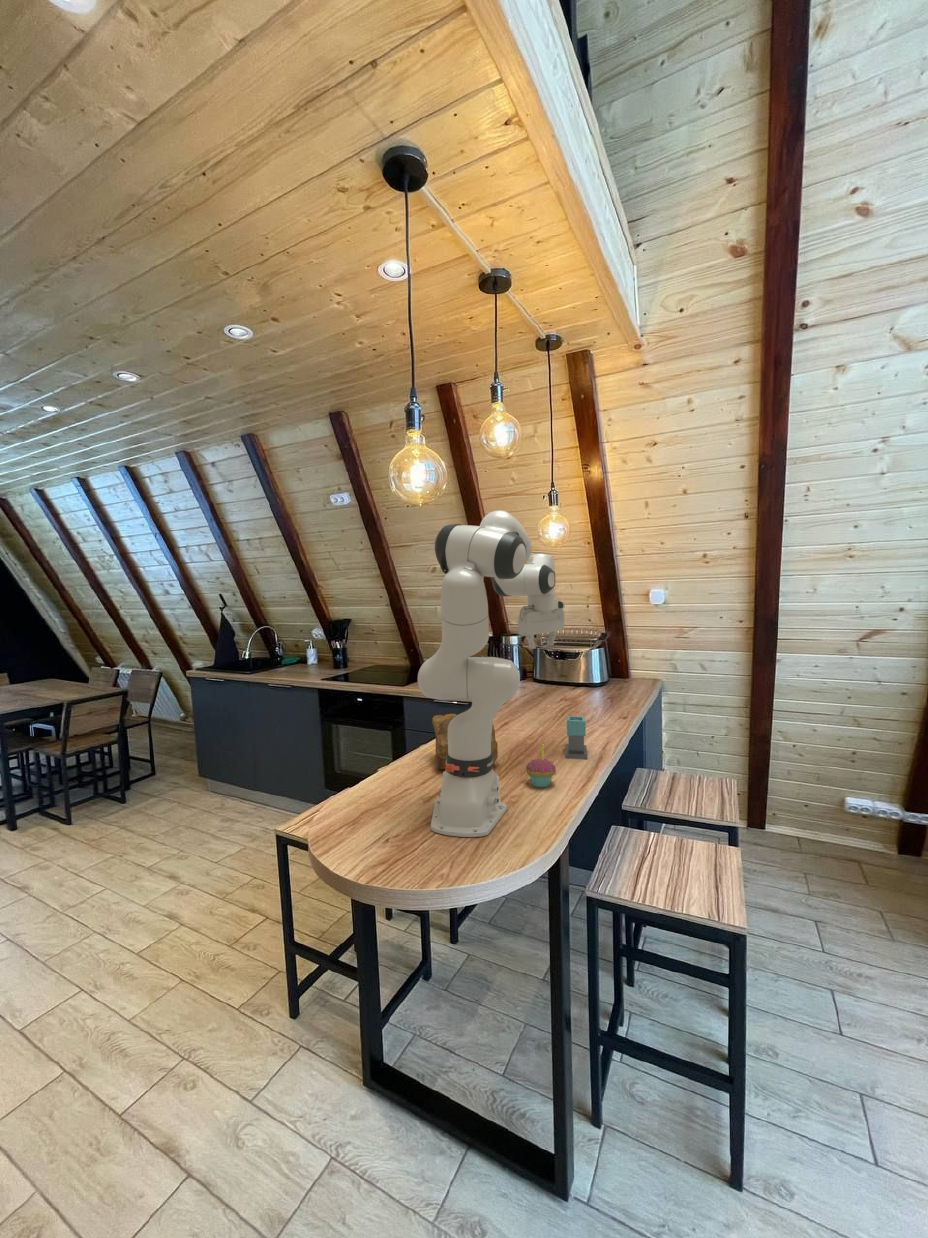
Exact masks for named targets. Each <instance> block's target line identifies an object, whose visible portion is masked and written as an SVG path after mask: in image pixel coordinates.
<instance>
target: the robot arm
mask: <svg viewBox="0 0 928 1238" xmlns="http://www.w3.org/2000/svg"><path fill="white" fill-rule="evenodd" d="M532 548H533V547H532V541H531V539H530V536H529V534H528V532H527V531H526V529H525V527H524V526H523V525H522V524H521V523H520V521H519V520H518V519H517V518H516V517H515V516H514V515H512V514H511V513H509V512H508V511H505V510H492V511H491V512H489V513H488V514H486V515H485V516H484V517H483V518H482V520H481V522H480V524H479V525H465V524H464V525H462V524H460V523H454V524H452V523H451V524H447V525H444V526H443V527H442V528H441V529H440V531H438V533H437V535H436V538H435V541H434V553H435V556H436V560H437V563H438V564H439V567H440V569H441V571H442V573H443V574H444V577H443V579H442V583H441V589H440V616H441V642H440V646H439V648H438V649H437V651H436V652H435V653H434V654H433V655H432V656H431V657H429V658H428V659H427V660H425V661H424V662H423V663H422V665H421V666H420V668H419V670H418V673H417V685H418V688H419V690H420V692H421V693H422V694H423V696H425V697H426V698H429V699H434V700H439V701H469V702H471V707H470V708H468V709H467V710H465V711H462V712H461V713H459V714H456V715H457V716H456V717H454V718H453V719H452V720H451V721H450V723H449V725H448V753H447V757H446V767H445V769H444V770H443V772H442V783H441V791H439V792H438V797H439V798H436V799H435V800H434V804H433V805H434V806H433V811H432V817H431V821H430V830H431V831H432V832H434V833H437V834H441V835H445V836H451V837H459V838H460V837H461V838H477V837H485V836H487V835H489V834H490V833H491V832H492V830H493V829H494V828H495V826H496V825H497V824H498V822H499V821H500V820H501V819H502V818H503V816H504V815H505V813H506V811H507V810H508V808H507V807H508V806H507V804H506V803H503V802H501V793H500V792H501V791H500V789H501V787H500V777H499V775H498V774H497V773H496V772H495V771H494V769H493V768H494V764H493V753H492V752H491V734H492V725H494V721H495V717H496V715H497V713H498V712H499V710H500V709H501V708H502V707H503V705H504V704H505V703H506V702H507V701H508V700H510V699H511V698H513V696H514V695H515V694H516V693H517V691H518V689H519V687H520V680H521V677H520V672H519V669H518V667H517V666H516V664H515V663H514V662H513V661H512V660H510V659H508V658H507V659H505V658H502V657H495V656H475V655H476V654H478V653H479V652H481V651H482V650H483V649H484V648H485V646H486V645H488V644H487V643H488V641H489V639H490V628H489V627H490V626H489V623H490V622H489V602H488V595H487V589H486V585H485V582H484V579H485V578H486V577H487V578H490V579H491V583H492V587H493V590H494V592H495V593H496V594H498V596H500V597H502V598H503V597H512V596H516V597H517V596H518V597H519V596H523V597H525V596H527V605H523V606H522V607H521V609H520V610H519V614H518V619H517V633H518V635H519V636H523V637H525V639H526V640H527V643H528V649H529V650H534V649H536V648H537V643H536V642H535V641H534V638H535V635H541V634H542V635H543V634H547V633H548V635H549V636H548V639H546V645H547V646H551V647H552V646H554V645H555V639H556V636H557V632H561V631H563V630H564V628H565V611H564V609H565V607H566V605H565V604H566V603H565V602H564V601H563V600H560V599H558V598H556V592H555V591H556V590H555V587H556V568H555V560H554V556H552V555H551V554H550V553H543V552H538V553H537V552H536V553H532ZM527 562H528V563H527ZM526 563H527V564H526Z"/></svg>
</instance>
